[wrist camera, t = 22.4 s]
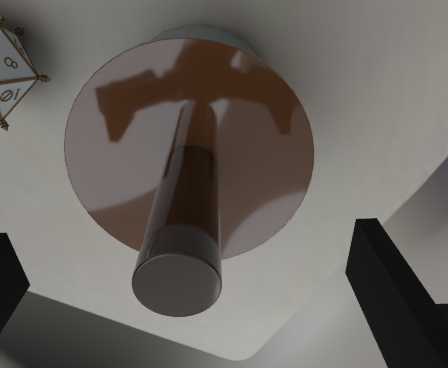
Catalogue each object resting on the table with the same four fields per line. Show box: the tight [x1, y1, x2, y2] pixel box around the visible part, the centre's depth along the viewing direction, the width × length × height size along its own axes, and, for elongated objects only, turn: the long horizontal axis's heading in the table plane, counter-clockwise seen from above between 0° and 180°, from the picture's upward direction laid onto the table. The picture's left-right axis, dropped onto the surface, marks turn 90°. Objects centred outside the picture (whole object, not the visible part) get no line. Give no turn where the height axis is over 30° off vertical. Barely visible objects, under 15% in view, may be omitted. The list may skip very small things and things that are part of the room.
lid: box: [64, 36, 314, 317], centre depth 16 cm, size 14×14×10 cm
